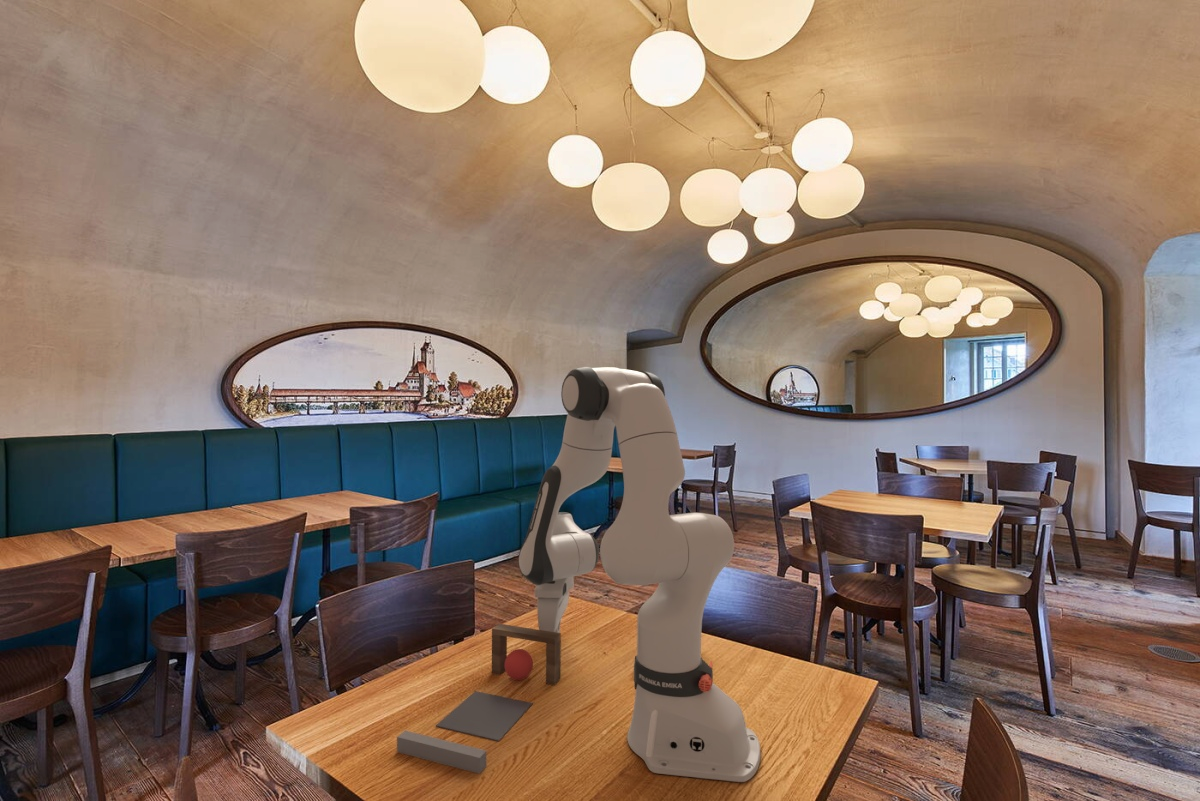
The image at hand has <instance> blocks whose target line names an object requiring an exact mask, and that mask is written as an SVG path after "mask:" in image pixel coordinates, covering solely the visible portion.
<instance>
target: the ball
mask: <svg viewBox="0 0 1200 801" xmlns="http://www.w3.org/2000/svg"><path fill="white" fill-rule="evenodd" d="M533 660H534V659H533V657H532V655H531V653H530V652H529V651H527V650H525V649H522V648H517V649H513V650H511V652H509V653H508V654H507V658H506V660H505V671H504V672H505V673H506V675H507V676H508V677H509V678H510V679H512V680H515V681H522V680H524V679H526V678H527V677H528V676H529V675H530V674H531V672H532V671H533V666H534V661H533Z"/></svg>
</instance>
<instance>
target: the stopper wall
mask: <svg viewBox="0 0 1200 801" xmlns="http://www.w3.org/2000/svg"><path fill="white" fill-rule="evenodd" d="M396 752H397V753H399V754H404V755H408V756H411V757H414V758H417V759H418V758H419V759H423V760H426V761H429V762H434V763H438V764H442V765H445V766H449V767H453V768H456V769H460V770H465V771H468V772H471V773H476V774H481V773H482V772H483V771H484V770H485V769H486V767H487V750H485V749H481V748H478V747H473V746H469V745H465V744H462V743H458V742H453V741H449V740H446V739H441V738H438V737H434V736H429V735H426V734H425V735H424V734H422V733H421V734H420V733H416V732H412V731H409V730H403V732H401V733H400V734H398V735H397V736H396Z"/></svg>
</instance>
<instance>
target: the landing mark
mask: <svg viewBox="0 0 1200 801" xmlns="http://www.w3.org/2000/svg"><path fill="white" fill-rule="evenodd" d="M533 703H534V702H531V701H526V700H520V699H516V698H511V697H506V696H501V695H496V694H492V693H486V692H483V691H477V690H475V691H474V692H472V693H471V694H470V695H469V696H468V697H466V698H465V699H464V701H462V702H461V703H459V705H458V706H456V707H455V708H454V709H453V710H452V711H451V712H449V713H448V714H447V715H446V716H444V718H443V719H441V720H440V721H439V722H438V723H436V724H435V727H436V728H441V729H445V730H449V731H454V732H458V733H462V734H466V735H470V736H475V737H478V738H483V739H488V740H490V741H491V740H492V741H496V742H500V741H501V739H502V738H504V737H505V735H506V734H507V733H509V731H510V730H511V729H512V728H513V726H514V725H516V723H517V722H518V721H519V720H520V719H521V718H522V717H523V716H524V714H525V713H527V711H528V710H529V709H530V708H531V707H532V705H533Z"/></svg>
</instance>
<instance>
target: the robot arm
mask: <svg viewBox="0 0 1200 801" xmlns="http://www.w3.org/2000/svg"><path fill="white" fill-rule="evenodd" d="M562 382H563V383H562V385H561V391H560V392H561V394H560V395H561V401H562V402H561V403H562V407H563V408H564V410H565V411H566V413H567V415H566V420H565V423H564V424H565V425H564V430H563V435H562V436H563V437H562V443H561V447H560V451H559V454H558V456H557V458H556V459H555V461H554V463H553V464H552V465H551V466H550V467H549V468H547V469H546V471H545V472H544V475H543V477H542V479H541V481H540V482H541V483H540V486H539V489H538V492H537V497H536V499H535V503H534V508H533V510H532V515H531V519H530V523H529V526H528V529H527V533H526V535H525V538H524V541H523V543H522V545H521V547H520V549H519V553H518V559H517V560H518V561H517V562H518V568H519V571H520V574H521V576H523V577H524V578H525V579H526V580H527V581H529V582H530V583H532V584H533V585H535V587H534V597H535V598H537V601H536V608H537V609H536V611H537V612H536V613H537V625H538V630H543V631H550V632H556V633H561V631H560V630H561V622H562V618H563V616H564V614H565V612H566V609H567V607H568V606H569V602H570V601H569V600H570V592H569V590H571V589H573V588H574V583H575V582H574V579H575V578H574V577H576V576H581V575H585V574H588V573H592V572H593V571H594V570H595V569H596V567H597V565H598V562H599V560H600V563H601V565H602V568H603V570H604V571H605V573H606V575H607V576H608V577H609V578H610V580H612V581H613V582H614V583H615V584H618V585H625V586H642V587H643V586H648V585H649V586H650V585H654V584H658V586H657V587H656V589H655V590H654V593H653V594H652V595H651V596H650V597H649V598H648V599H647V600H645V602H644V603H643V604H642V606H641V607H640V608H639V610H638V614H637V620H636V627H637V628H636V629H637V630H636V631H637V632H636V637H637V638H636V655H635V656H634V662H633V683H634V690H635V696H634V704H633V710H632V711H633V712H632V717H631V720H630V721H631V722H630V726H629V729H628V730H627V731H628V732H627V735H626V736H627V737H626V740H627V743H628V746H629V748H630V749H631V750H632V751H633V753H635V754H636V755H637V756H639V757H640V758H641V759H642V760H643V761H644V762H645V765H646V767H647V768H648V770H649V771H650V772H652V773H654V774H660V775H661V774H662V775H670V776H679V777H688V778H689V777H691V778H698V779H707V780H708V779H709V780H719V781H727V782H736V783H737V782H738V783H745V782H747V781H749V780H751V779H752V778H753V777H754V776H755V774H756V773H757V771H758V769H759V766H760V762H761V754H762V753H761V744H760V741H759V740H760V739H759V738H758V736H757V735H756V733H755V732H754V731H753V730H752V729H751V728H748V727H746V726H747V725H746V721H745V716H744V712H743V710H742V708H741V706H740V704H738V703H737V701H735V700H734V699H733V698H732V697H730V696H729V695H728V694H726V693H725V691H723V690H722V689H721V688H720V687H719V686H718V685H716V684H715V683H714V682H713V680H714V678H713V677H714V676H713V674H714V673H713V661H712V660H710V661H709V662H710V663H709V664H708V663H707V662H706V661H705V660H704V659H703V658H702V656H701V655H702V629H703V628H702V627H703V616H704V611H705V607H706V605H707V604H706V603H707V602H708V601H707V600H708V597H709V595H710V592H711V590H712V588H713V587H714V586H713V585H714V583H715V582H716V579H718V578H717V577H718V576H719V574H720V573H721V572H722V571H723V570H724V569H725V567H726V566H727V565H728V564H729V563H730V562H731V560H732V558H733V555H734V552H735V539H734V534H733V531H732V529H731V527H730V526H729V525H728V523H727V522H726V521H725V520H724V519H723V518H722V517H721V516H719V515H715V514H710V513H704V512H687V513H685V512H684V513H677V514H676V513H675V514H670V511H669V505H670V504H669V501H670V497H671V494H672V493H673V492H675V491H676V490H677V489H678V488H679V487H680V486H681V485H682V484H683V482H684V480H685V477H686V470H685V464H684V460H683V456H682V455H683V454H682V451H681V447H680V441H679V437H678V433H677V428H676V424H675V421H674V418H673V414H672V412H671V408H670V407H669V404H668V401H667V399H666V393H665V386H664V384H663V382H662V380H661V379H660V378H659V376H657V375H656V374H654V373H652V372H649V371H644V370H639V371H637V370H631V369H627V368H626V369H625V368H619V367H616V366H615V367H611V366H609V367H607V366H606V367H590V366H583V367H578V368H574V369H572V370H570V371H569V372H568V373H567V375H566V376H565V378H564V380H563V381H562ZM615 429H616V437H617V438H616V439H617V443H618V450H619V455H620V460H621V461H620V462H621V468H622V469H621V470H622V475H623V487H624V488H623V498H622V503H621V506H620V509H619V511H618V514H617V516H616V518H615V520H614V522H613V523H612V524H611V525H610V526H609V527H608V529H606V531H605V532H604V534H603V537H602V539H601V542H600V546H599V543H598V541H597V540H596V538H595V537H594V536H593V535H592V534H591V533H589V532H587V531H584V530H583V529H581V528H580V527H579V526H578V525H577V524H576V523H575V521H574V519H573V515H572V514H571V513H569V512H565V511H561V512H559V511H560V508H561V506H562V505H563V504H564V502H565V501H566V500H567V499H568V498H569V497H571V496H572V495H574V494H575V493H576V492H578V491H580V490H582V489H584V488H586V487H589V486H591V485H592V484H594V483H596V482H597V481H599V480H600V479H602V477H603V476H604V475H605V474H606V473H607V471H608V469H609V466H610V464H611V459H612V452H613V444H614V432H615V431H614V430H615ZM599 547H600V548H599ZM599 557H600V559H599Z"/></svg>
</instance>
